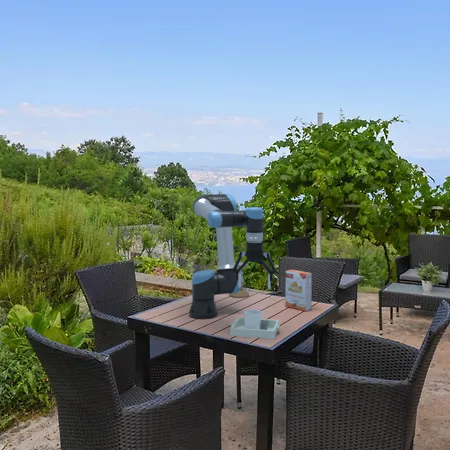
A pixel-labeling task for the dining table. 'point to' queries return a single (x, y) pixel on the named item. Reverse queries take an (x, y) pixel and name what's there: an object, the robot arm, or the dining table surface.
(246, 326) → the white cup
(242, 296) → the candle holder
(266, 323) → the block
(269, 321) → the tray
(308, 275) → the cracker box
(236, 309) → the dining table surface
